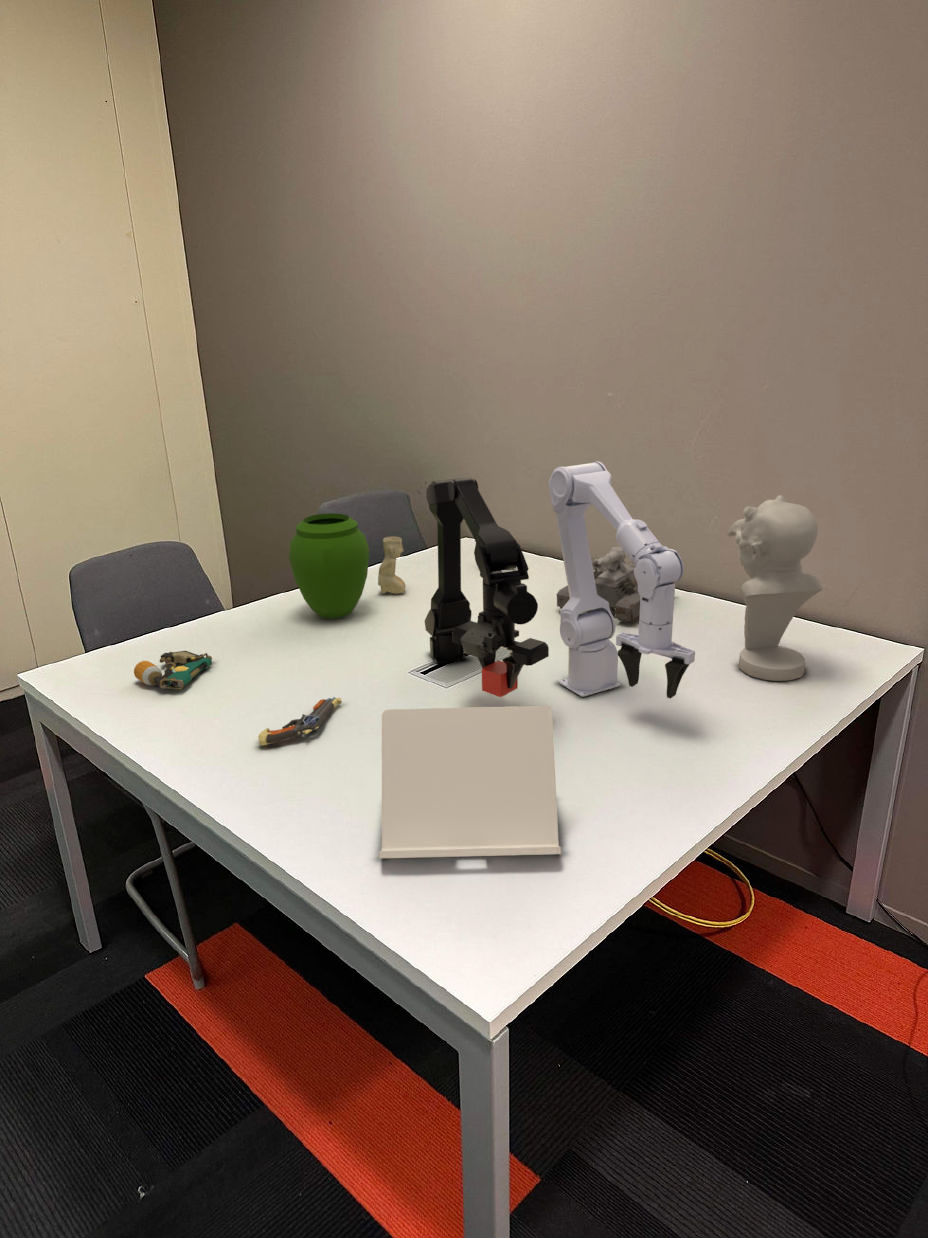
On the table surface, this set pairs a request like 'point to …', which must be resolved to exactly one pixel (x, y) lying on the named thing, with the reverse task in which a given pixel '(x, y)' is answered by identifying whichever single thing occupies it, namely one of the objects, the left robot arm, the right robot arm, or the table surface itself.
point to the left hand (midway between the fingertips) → (499, 684)
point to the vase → (329, 563)
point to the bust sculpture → (774, 583)
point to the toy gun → (301, 723)
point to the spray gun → (172, 669)
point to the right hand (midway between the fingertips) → (652, 690)
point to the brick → (496, 679)
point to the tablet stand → (468, 782)
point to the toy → (613, 585)
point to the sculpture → (391, 566)
